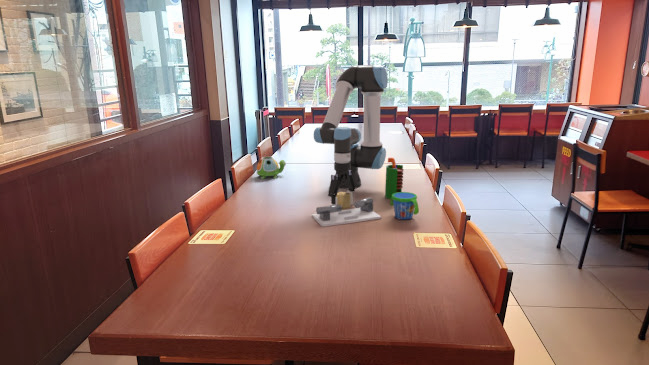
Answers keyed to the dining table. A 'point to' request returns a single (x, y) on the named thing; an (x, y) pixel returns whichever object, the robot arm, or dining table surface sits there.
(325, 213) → the shaft
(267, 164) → the turtle holder
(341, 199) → the block
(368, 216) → the base plate
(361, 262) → the dining table surface
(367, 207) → the shaft
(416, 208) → the snack cup
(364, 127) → the robot arm
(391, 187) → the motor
